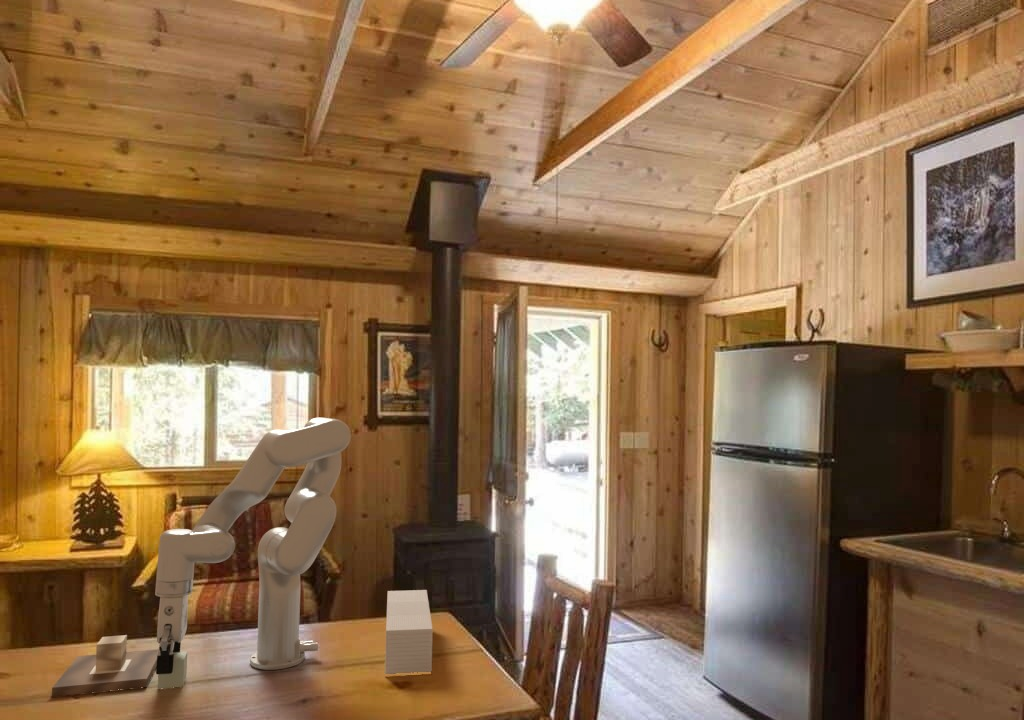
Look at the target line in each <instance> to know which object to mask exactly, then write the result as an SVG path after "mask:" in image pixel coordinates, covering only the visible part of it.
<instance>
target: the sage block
mask: <svg viewBox="0 0 1024 720" xmlns="http://www.w3.org/2000/svg"><path fill="white" fill-rule="evenodd" d="M173 654H174V661H173V672H172V673H171V674H157V675H158V677H157V690H158V689H160V690H162V689H161V688H170V689H174V688H173V687H180V688H183V687H184V686H185V683H186V680H187V668H188V651H180V652H175V653H173ZM185 679H186V680H185ZM184 682H185V683H184ZM183 685H184V686H183ZM182 686H183V687H182Z"/></svg>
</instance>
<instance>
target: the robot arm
mask: <svg viewBox="0 0 1024 720" xmlns="http://www.w3.org/2000/svg"><path fill="white" fill-rule="evenodd" d="M351 434H352V433H351V429H350V428H349V425H347V424H346V423H345V422H344V421H342V420H341V419H337V418H327V417H321V416H320V417H314V418H311V419H309V420H308V421H307V422H306V423H305V424H304V426H303V427H302V428H299V429H293V430H286V429H273V430H272V429H271V430H270V431H268V432H266V433H265V434H264V435H263V436H262V437H261V439H260V440H259V442H258V444H257V445H256V446H255V447H254V449H253V451H252V452H251V454H250V455H249V457H248V458H247V459H246V461H245V462H244V464H243V465H242V467H241V469H240V470H239V471H238V473H237V474H236V476H235V477H234V479H233V480H232V481H231V482H230V483H229V484H228V485H227V486H225V488H224V489H223V490H222V491H221V492H220V494H218V495H217V496H216V497H215V498H214V499H213V500H212V502H211V503H210V504H209V505H208V506H207V508H206V509H205V510H204V512H203V514H202V515H201V517H200V518H199V519H198V521H197V523H196V524H195V526H194V527H193V529H188V528H187V529H186V528H174V529H167V530H165V531H163V532H162V533H160V536H159V541H158V556H157V564H156V565H157V566H156V567H157V569H156V578H155V579H156V580H155V592H154V594H155V596H156V597H160V599H159V607H158V608H159V609H158V618H157V629H156V631H157V632H156V642H157V643H158V644H159V645H158V646H159V647H158V649H159V651H158V655H157V665H156V669H155V674H156V675H158V674H171V673H172V672H173V661H174V654H173V653H175V652H181V646H182V645H181V644H182V643H181V642H182V641H183V640H184V637H185V634H186V633H187V630H188V629H187V628H188V609H189V606H188V605H189V595H192V593H193V587H194V578H195V577H194V575H195V563H203V564H205V563H206V564H217V563H221V562H224V561H226V560H228V559H229V558H231V556H232V555H233V554H234V551H235V548H236V542H235V539H234V536H233V535H232V534H231V533H230V532H229V530H230V529H231V528H232V527H233V524H234V523H235V522H236V521H237V519H238V518H239V517H240V516H241V515H242V514H243V513H244V512H246V510H248V509H251V507H253V506H256V505H258V504H259V503H260V502H262V501H264V499H266V498H267V496H268V495H269V493H270V491H271V490H272V488H273V487H274V486H275V484H276V482H277V481H278V479H279V478H280V476H281V475H282V473H283V471H284V470H285V468H294V467H297V466H302V465H305V464H306V466H305V468H304V470H303V472H302V474H301V476H300V478H299V479H298V481H297V483H296V485H295V487H294V489H293V490H292V492H291V494H290V496H289V497H288V499H287V500H286V502H285V505H284V509H283V510H284V515H285V518H286V519H287V521H289V522H290V526H289V527H288V528H287V527H282V526H279V527H274V528H271V529H269V530H268V531H267V532H265V533H264V534H263V535H262V537H261V538H260V541H259V542H258V548H257V563H258V565H257V566H258V575H259V577H258V578H259V579H258V580H259V589H258V592H259V593H258V610H257V611H258V612H257V614H258V616H257V618H258V619H257V643H256V645H257V647H256V648H257V649H256V651H255V652H254V653H253V654H252V655H251V656H250V658H249V665H251V667H253V668H255V669H259V670H265V671H266V670H267V671H273V670H282V669H283V670H284V669H288V668H292V667H294V666H297V665H299V664H300V663H302V662H303V661H304V660H305V658H306V653H305V652H318V650H319V643H318V642H314V641H313V640H306V641H303V639H302V640H301V635H300V633H299V632H300V613H301V612H300V609H301V575H302V574H303V573H305V572H306V571H308V569H310V567H311V566H312V565H313V563H314V562H315V561H316V558H317V557H318V555H319V553H320V552H321V549H322V548H323V546H324V545H325V542H326V540H327V538H328V536H329V534H330V532H331V530H332V528H333V527H334V524H335V521H336V518H337V505H336V502H335V500H334V499H333V497H331V494H332V492H333V490H334V489H335V485H336V484H337V481H338V479H339V477H340V473H341V469H342V453H341V452H343V451H344V450H346V449H347V447H348V446H349V444H350V441H351V439H352V438H351V437H352V435H351Z"/></svg>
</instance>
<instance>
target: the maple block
mask: <svg viewBox="0 0 1024 720" xmlns="http://www.w3.org/2000/svg"><path fill="white" fill-rule="evenodd" d="M127 639H128V635H127V634H125V635H112V636H102V637H100V639H99V641H98V642H97V643H96V647H95V648H96V649H95V650H96V651H95V655H96V671H95V672H101V671H112V670H121V668H122V667H123V665H124V664H125V662H126V652H127V642H128V641H127Z"/></svg>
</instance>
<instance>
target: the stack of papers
mask: <svg viewBox="0 0 1024 720" xmlns="http://www.w3.org/2000/svg"><path fill="white" fill-rule="evenodd" d="M386 598H387V599H386V601H387V602H386V626H385V659H384V660H385V661H384V662H385V666H384V668H385V670H384V675H385V674H396V673H411V672H412V673H414V672H417V673H418V672H431V671H432V672H433V667H432V666H433V663H432V662H433V634H434V633H433V631H434V630H433V623H432V616H431V610H430V601H429V597H428V590H427V589H416V590H415V589H413V590H410V589H409V590H387V597H386Z"/></svg>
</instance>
